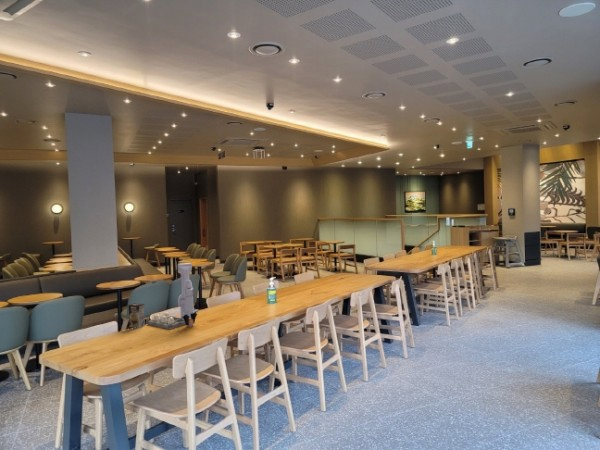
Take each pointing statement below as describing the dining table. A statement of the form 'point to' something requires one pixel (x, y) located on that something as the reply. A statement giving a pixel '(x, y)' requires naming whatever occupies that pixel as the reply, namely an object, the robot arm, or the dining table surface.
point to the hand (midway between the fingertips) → (190, 324)
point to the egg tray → (164, 325)
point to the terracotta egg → (190, 322)
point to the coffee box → (136, 315)
